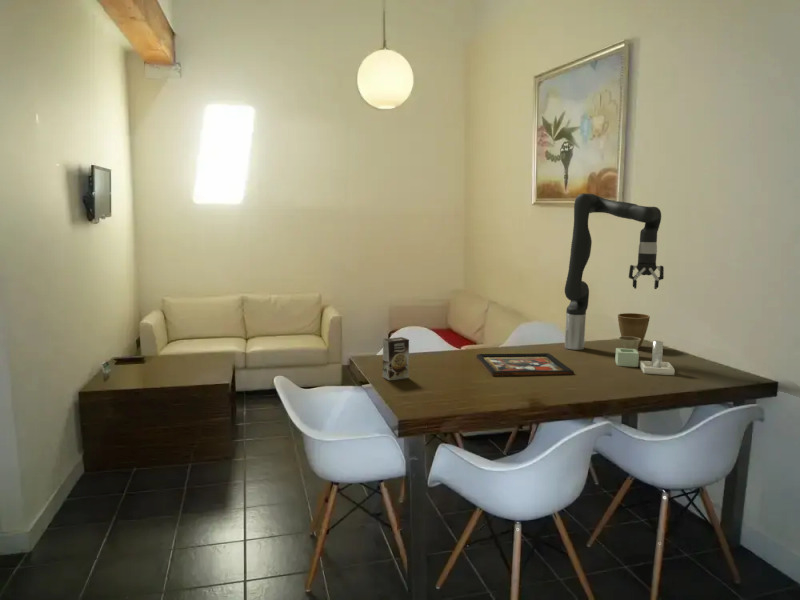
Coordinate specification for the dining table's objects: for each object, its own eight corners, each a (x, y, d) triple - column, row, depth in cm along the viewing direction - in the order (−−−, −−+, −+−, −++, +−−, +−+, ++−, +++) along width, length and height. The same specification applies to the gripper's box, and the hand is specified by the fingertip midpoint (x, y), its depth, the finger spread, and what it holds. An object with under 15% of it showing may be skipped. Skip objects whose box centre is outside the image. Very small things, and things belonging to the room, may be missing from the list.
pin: (652, 370, 264) (653, 342, 262) (650, 367, 268) (652, 340, 266) (662, 370, 263) (664, 342, 261) (660, 368, 267) (662, 340, 265)
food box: (389, 380, 249) (389, 341, 247) (382, 377, 255) (382, 338, 252) (409, 378, 253) (409, 339, 251) (402, 374, 259) (402, 336, 256)
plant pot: (639, 343, 318) (641, 312, 315) (653, 350, 303) (655, 317, 301) (611, 343, 317) (613, 312, 315) (623, 350, 302) (625, 318, 300)
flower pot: (636, 354, 295) (637, 336, 294) (642, 359, 286) (643, 340, 284) (616, 353, 296) (617, 335, 294) (621, 358, 286) (622, 340, 285)
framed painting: (495, 380, 252) (496, 373, 252) (468, 359, 286) (468, 353, 286) (581, 376, 260) (582, 369, 260) (545, 356, 294) (545, 350, 294)
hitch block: (617, 365, 274) (618, 352, 273) (615, 360, 282) (615, 348, 281) (638, 366, 272) (638, 353, 271) (635, 362, 280) (636, 349, 279)
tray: (643, 373, 261) (644, 367, 261) (639, 366, 273) (639, 360, 272) (674, 375, 259) (674, 369, 258) (668, 367, 270) (668, 362, 270)
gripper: (663, 252, 277) (660, 288, 279) (629, 251, 280) (627, 287, 282) (666, 253, 269) (663, 290, 272) (631, 252, 272) (629, 289, 275)
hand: (645, 288), depth 277 cm, fingers open, 8 cm apart
